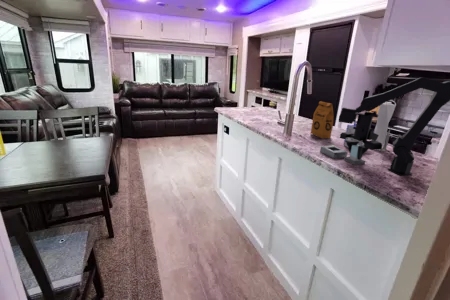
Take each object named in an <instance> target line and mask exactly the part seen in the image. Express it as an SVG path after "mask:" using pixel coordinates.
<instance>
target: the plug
mask: <svg viewBox="0 0 450 300" xmlns="http://www.w3.org/2000/svg"><path fill="white" fill-rule="evenodd" d="M358 146H360V145H352V149H351V153H350V152H349V156H348V157H349V159H351V160H353V161H361V159H362V158H363V156H362V157H361V159H358Z"/></svg>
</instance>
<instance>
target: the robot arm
mask: <svg viewBox="0 0 450 300" xmlns="http://www.w3.org/2000/svg"><path fill="white" fill-rule="evenodd" d="M419 89H423V90H426V91H431V92H433V93H432V96H431V98H430V101H429V103H428V104H427V105H426V107H425V108H424V109H423V110H422V112H421V113H420V115H419V116H418V117H417V119H415V121H414V122H413V123H412V125H411V126H410V128H409V129H408V130H407V131H406V132H405V133H404V134H402V135H401V134H398V135H397V137H396V138H395V140H394V141H392V152H393V154H394V155H395V156H393V157H394V158H393V159H392V160H391V163H390V168H388V169H387V170H388V171H391V172H392V173H395V174H397V175H399V176H409V175H413V172H411V171H412V169H413V165H414V161H415V157H414V152H413V151H412V149H413V147H414V145H415V142H416V140H417V138H418V137H419V135H420V134H422V133H423V131H424V130H425V128H426V127H427V126H428V125H429V123H430V122H431V121H432V119H433V118H434V117H435V116H436V114H437V113H438V112H439V111H440V110H441V108H442V107H444V106H445V105H446V104H448V103H449V102H450V81H443V82H441V81H436V80H432V79H429V78H428V79H427V78H426V77H424V76H423V77H418V78H416V79H415V80H411V81H409V82H408V83H407V82H406V83H405V84H402V85H399V86H397V87H395V88H393V89H391V90H388V91H385V92H383V93H378V94H374V95H371V96H367V97H365V98H364V99H362V100H361V102H360V105H359V106H357V107H356V108H355V109H354V108H347V107H342V108H341V111H340V114H339V117H338V122H339V123H343V124H344V123H345V124H349V125H353V124H354V122H355V121H357V123H355V124H356V127H353V129H355V132H354V133H351V132H346V131H345V132H344V131H343V132H341V133H340V135H339V139H342V140H345V139H346V138H347V140H346V141H345V142H346V143H347V145H348V147H347V148H348V151H349V154H350V153H351V149H352V145H357V144H358V143H359V142H360V143H362V146H358V159H362V158H363V156H364V155H365V154H366V152H368V151H369V150H371V151H378V150H377V149H381V148H383V147H382V143H380V142H377V141H376V140H377V138H378V136H379V135H377V134H375V133H374V131H373V128H371V127H372V124H373V123H372V122H373V118H377V117H378V112H377V111H376V110H375V109H376V108H379V106H380V105H382V104H383V103H385V102H390V101H389V100H394V99H396V98H399V97H402V96H404V95H407V94H409V93H412V92H415V91H417V90H419ZM372 110H374V111H372ZM364 111H365V112H364ZM371 111H372V112H371ZM362 112H364V113H362ZM371 140H373V141H371ZM361 157H362V158H361Z"/></svg>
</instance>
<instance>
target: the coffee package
mask: <svg viewBox="0 0 450 300" xmlns="http://www.w3.org/2000/svg"><path fill="white" fill-rule="evenodd" d="M312 116H313V117H312V122H311V129H310V134H311V135H313V136H316V137H317V138H320V139H331V138H332V137H331V135H332V133H333V132H332V131H333V127H334V126H333V125H334V117H335V116H334V108H333V103H330V102H325V101H322V100H321V101H319V102H318V106H317V107H316V108H315V111H314V112H313V115H312Z"/></svg>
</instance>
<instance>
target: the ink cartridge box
mask: <svg viewBox="0 0 450 300" xmlns="http://www.w3.org/2000/svg"><path fill="white" fill-rule="evenodd" d="M356 123H357V120H356V121H355V122H353V124H347V126H346V131H345V132H351V133H354V132H355V129H353V127H356ZM346 140H347V138H346V139H343V146H344V147H345V148H348V145H347V143H346V142H345V141H346ZM357 145H360V146H362V143H360V142H359V143H358V144H357Z"/></svg>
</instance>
